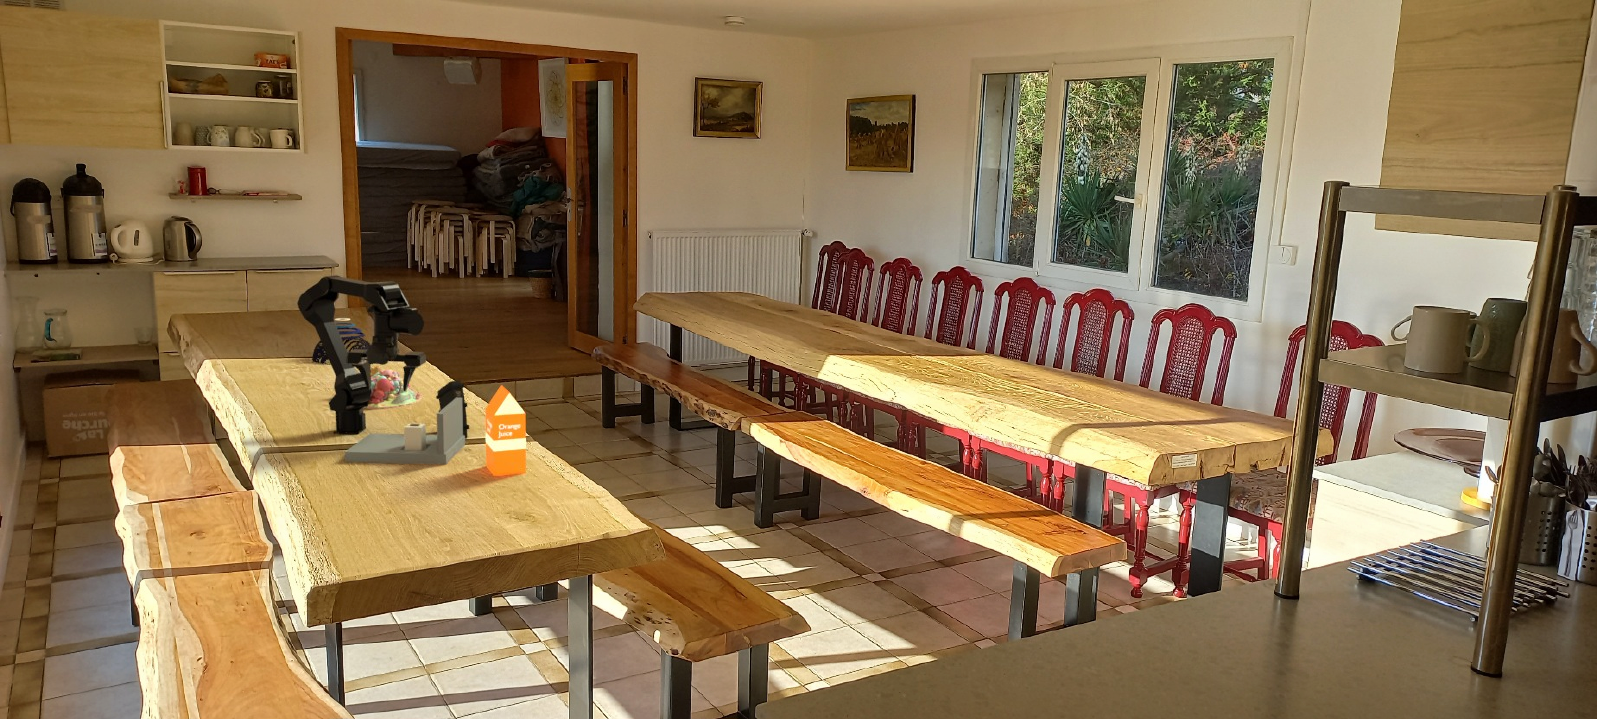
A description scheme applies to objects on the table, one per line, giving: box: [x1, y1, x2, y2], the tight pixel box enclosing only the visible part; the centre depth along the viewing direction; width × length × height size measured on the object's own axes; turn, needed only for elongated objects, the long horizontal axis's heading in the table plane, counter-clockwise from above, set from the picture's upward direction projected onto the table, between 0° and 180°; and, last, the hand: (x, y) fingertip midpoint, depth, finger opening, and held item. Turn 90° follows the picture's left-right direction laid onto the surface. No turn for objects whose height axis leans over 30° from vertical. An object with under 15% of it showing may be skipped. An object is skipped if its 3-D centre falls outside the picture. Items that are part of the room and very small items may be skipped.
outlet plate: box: [344, 398, 466, 465], centre depth 276 cm, size 24×18×12 cm
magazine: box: [435, 380, 470, 440], centre depth 296 cm, size 4×13×15 cm, turn 39°
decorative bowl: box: [312, 317, 372, 365], centre depth 390 cm, size 20×20×14 cm
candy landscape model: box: [363, 365, 422, 410], centre depth 333 cm, size 25×24×9 cm
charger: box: [403, 422, 427, 450], centre depth 274 cm, size 4×4×8 cm
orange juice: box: [484, 384, 527, 477], centre depth 265 cm, size 8×9×20 cm
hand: (387, 390), depth 288 cm, fingers open, 9 cm apart
